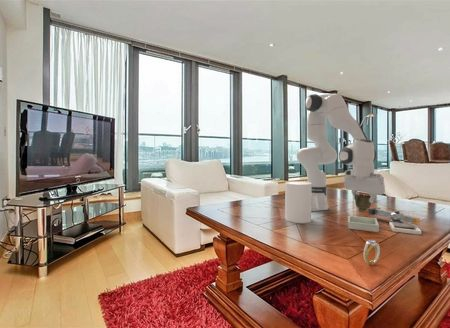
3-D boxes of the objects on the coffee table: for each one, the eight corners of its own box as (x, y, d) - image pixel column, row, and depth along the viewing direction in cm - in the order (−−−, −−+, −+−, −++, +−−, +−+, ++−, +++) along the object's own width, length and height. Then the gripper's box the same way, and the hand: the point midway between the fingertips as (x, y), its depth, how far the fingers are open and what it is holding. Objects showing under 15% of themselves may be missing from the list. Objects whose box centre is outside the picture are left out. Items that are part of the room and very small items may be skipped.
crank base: (391, 224, 122) (391, 220, 122) (389, 222, 126) (389, 218, 126) (404, 226, 119) (404, 222, 119) (402, 223, 124) (402, 219, 124)
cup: (373, 214, 115) (374, 197, 115) (356, 212, 116) (357, 195, 116) (367, 210, 122) (369, 194, 122) (351, 209, 124) (352, 193, 123)
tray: (348, 228, 117) (348, 222, 117) (348, 221, 128) (348, 215, 128) (378, 232, 112) (378, 225, 111) (376, 224, 123) (376, 218, 123)
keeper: (392, 231, 112) (392, 228, 112) (389, 225, 122) (389, 222, 122) (421, 234, 108) (421, 231, 108) (415, 227, 117) (415, 224, 117)
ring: (374, 260, 84) (374, 237, 83) (383, 264, 81) (384, 240, 80) (359, 264, 81) (360, 240, 81) (368, 268, 78) (369, 243, 78)
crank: (422, 224, 115) (422, 215, 115) (413, 225, 113) (413, 216, 112) (376, 212, 136) (376, 205, 136) (368, 214, 134) (368, 206, 133)
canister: (283, 216, 141) (283, 181, 140) (307, 216, 140) (307, 181, 139) (287, 223, 127) (288, 184, 126) (314, 223, 127) (314, 184, 125)
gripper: (388, 174, 110) (388, 204, 110) (351, 170, 129) (351, 197, 130) (378, 174, 108) (377, 206, 108) (342, 171, 127) (341, 197, 128)
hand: (363, 201), depth 119 cm, fingers closed on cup, 7 cm apart
